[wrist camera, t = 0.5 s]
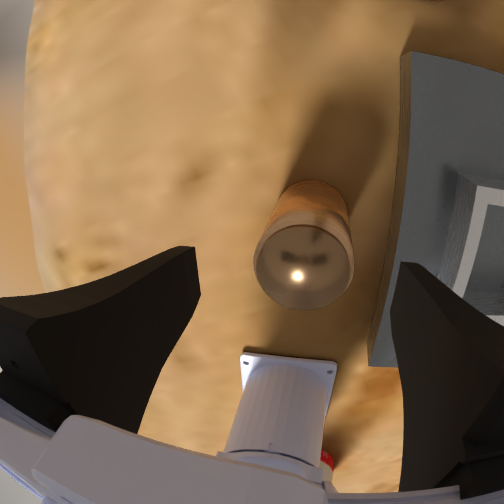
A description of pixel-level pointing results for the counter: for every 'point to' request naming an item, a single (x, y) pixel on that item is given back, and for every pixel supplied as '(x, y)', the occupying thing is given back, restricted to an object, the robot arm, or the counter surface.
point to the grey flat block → (446, 189)
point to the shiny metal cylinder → (306, 248)
